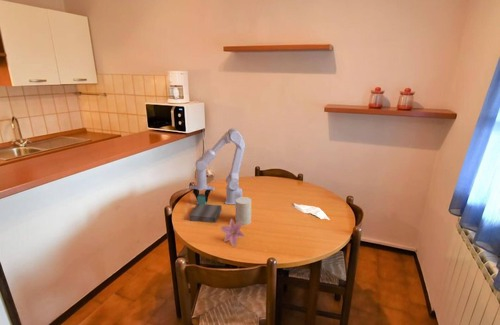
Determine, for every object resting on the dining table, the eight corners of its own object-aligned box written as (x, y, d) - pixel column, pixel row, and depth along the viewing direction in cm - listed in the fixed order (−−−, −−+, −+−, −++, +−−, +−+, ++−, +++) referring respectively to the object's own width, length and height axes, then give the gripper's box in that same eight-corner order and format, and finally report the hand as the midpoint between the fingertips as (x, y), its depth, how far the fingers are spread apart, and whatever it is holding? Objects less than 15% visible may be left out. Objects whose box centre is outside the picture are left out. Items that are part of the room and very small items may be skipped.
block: (207, 201, 166) (206, 194, 164) (205, 205, 161) (204, 197, 160) (199, 201, 166) (199, 193, 165) (197, 204, 162) (197, 196, 160)
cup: (239, 226, 140) (239, 205, 137) (233, 219, 147) (233, 198, 143) (253, 222, 144) (254, 202, 140) (246, 216, 151) (246, 195, 147)
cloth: (337, 218, 151) (337, 214, 150) (319, 225, 144) (319, 221, 143) (304, 200, 172) (304, 197, 171) (287, 205, 165) (287, 202, 164)
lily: (220, 236, 134) (214, 225, 127) (240, 223, 137) (236, 212, 130) (231, 255, 126) (226, 244, 119) (253, 241, 129) (249, 230, 122)
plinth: (221, 210, 157) (221, 205, 156) (215, 222, 143) (215, 217, 142) (197, 208, 158) (197, 203, 157) (189, 220, 145) (189, 215, 144)
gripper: (186, 181, 156) (188, 203, 160) (211, 183, 154) (212, 204, 159) (191, 177, 163) (192, 198, 167) (215, 178, 161) (215, 199, 165)
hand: (202, 201), depth 163 cm, fingers closed on block, 4 cm apart
